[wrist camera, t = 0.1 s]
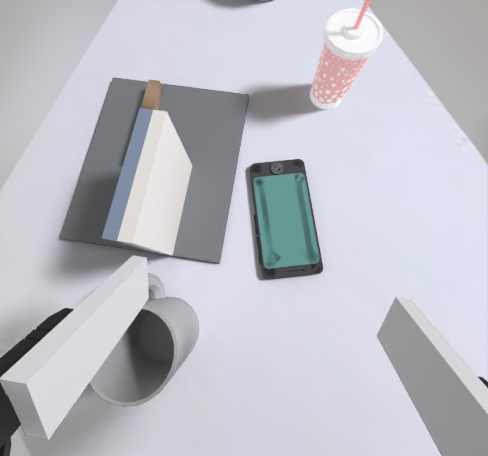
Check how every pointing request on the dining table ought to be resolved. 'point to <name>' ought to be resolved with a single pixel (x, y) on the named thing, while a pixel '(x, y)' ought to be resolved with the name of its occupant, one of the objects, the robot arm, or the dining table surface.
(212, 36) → the dining table surface
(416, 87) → the dining table surface
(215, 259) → the mat
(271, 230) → the smartphone
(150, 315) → the cup
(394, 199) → the dining table surface
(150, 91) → the strip
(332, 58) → the beverage cup
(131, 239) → the blue-grey flat block
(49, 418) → the robot arm
